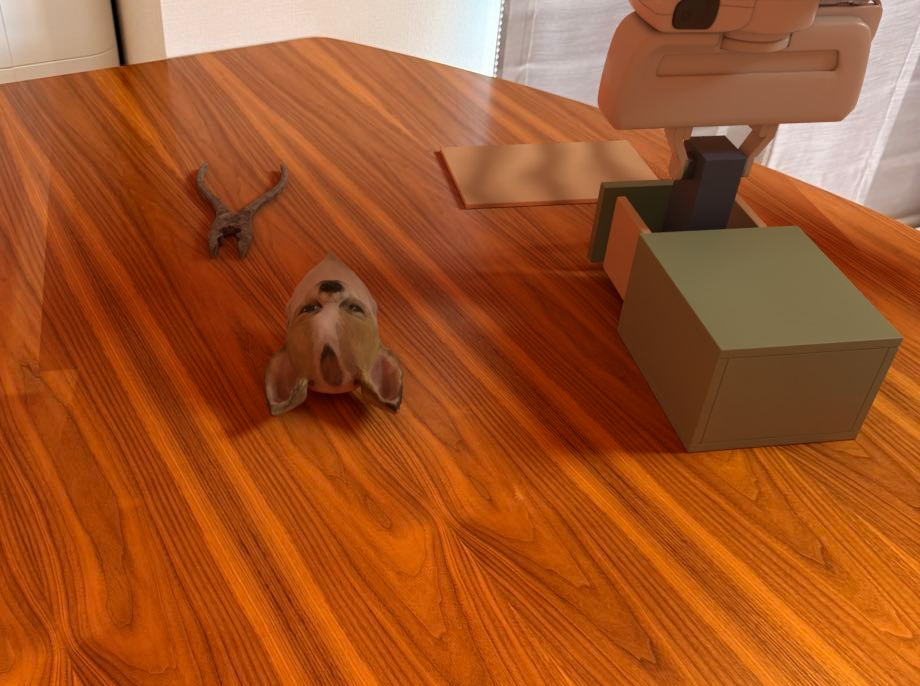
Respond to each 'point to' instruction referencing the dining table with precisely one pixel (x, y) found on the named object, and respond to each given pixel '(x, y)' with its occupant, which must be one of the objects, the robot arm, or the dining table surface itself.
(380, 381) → the ceramic sculpture
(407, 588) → the dining table surface
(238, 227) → the pliers
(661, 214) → the drawer
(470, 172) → the mat
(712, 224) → the block
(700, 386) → the cabinet
